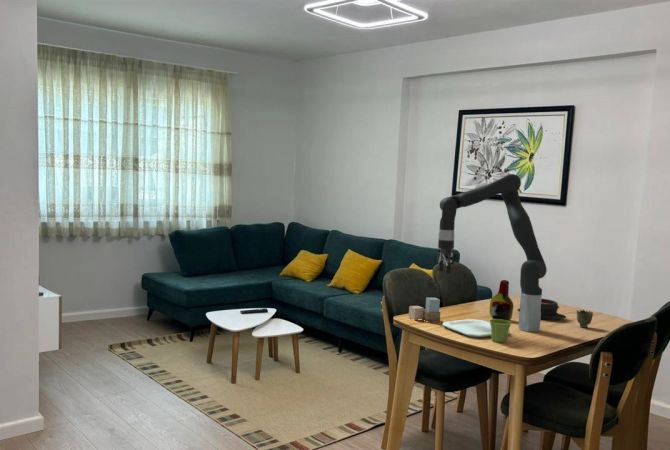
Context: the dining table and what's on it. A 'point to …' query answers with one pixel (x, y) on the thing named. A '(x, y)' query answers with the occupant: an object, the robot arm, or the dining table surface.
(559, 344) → the dining table surface
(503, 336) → the plant pot
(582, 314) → the cup
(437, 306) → the grey cube
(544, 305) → the casserole
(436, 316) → the walnut block
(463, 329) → the plate
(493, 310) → the bottle
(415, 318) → the pale pinkish block
